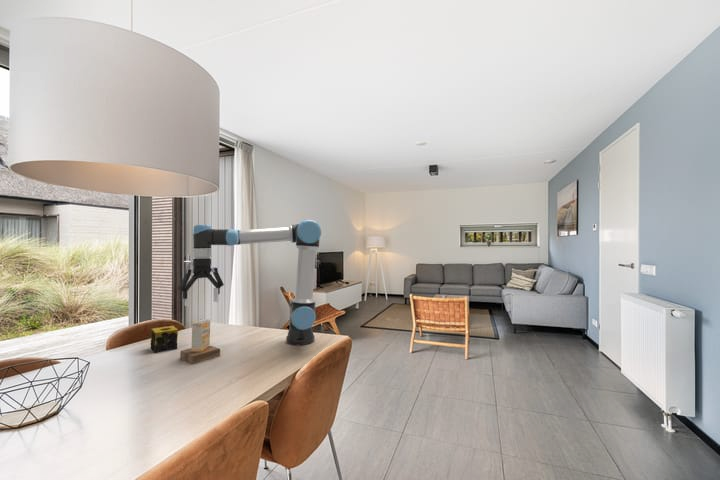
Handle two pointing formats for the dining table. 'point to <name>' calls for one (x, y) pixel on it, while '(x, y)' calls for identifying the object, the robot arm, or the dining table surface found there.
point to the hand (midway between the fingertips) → (202, 303)
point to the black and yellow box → (164, 339)
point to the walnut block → (200, 355)
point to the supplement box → (200, 335)
